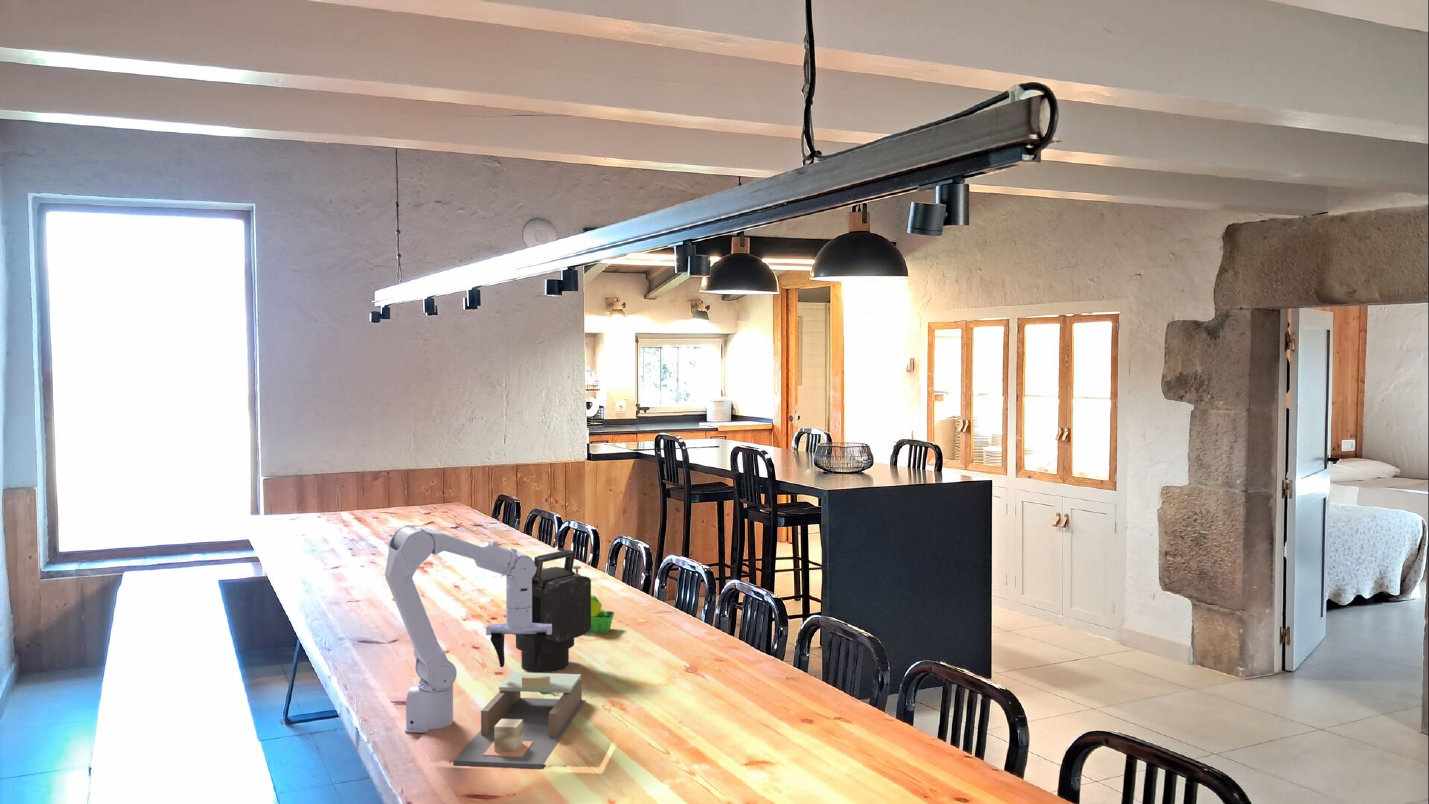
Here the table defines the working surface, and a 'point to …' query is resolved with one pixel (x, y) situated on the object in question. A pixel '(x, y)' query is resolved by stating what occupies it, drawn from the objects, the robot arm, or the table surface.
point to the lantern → (556, 612)
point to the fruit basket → (599, 617)
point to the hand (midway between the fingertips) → (519, 665)
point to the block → (508, 735)
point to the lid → (540, 682)
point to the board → (539, 729)
